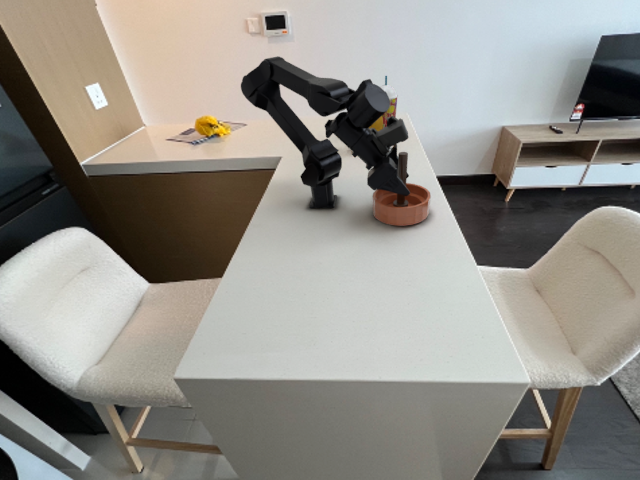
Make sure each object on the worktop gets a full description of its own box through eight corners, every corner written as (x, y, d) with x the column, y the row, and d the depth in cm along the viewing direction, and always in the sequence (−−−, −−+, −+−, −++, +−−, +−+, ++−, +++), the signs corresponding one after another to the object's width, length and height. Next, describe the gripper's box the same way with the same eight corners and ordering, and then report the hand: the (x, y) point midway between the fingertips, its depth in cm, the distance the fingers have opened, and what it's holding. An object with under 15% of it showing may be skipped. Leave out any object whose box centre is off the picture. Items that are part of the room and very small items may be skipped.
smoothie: (370, 135, 131) (369, 76, 118) (388, 131, 133) (390, 72, 121) (381, 140, 125) (381, 79, 112) (400, 136, 127) (403, 75, 115)
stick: (399, 216, 80) (402, 157, 71) (389, 210, 82) (391, 153, 73) (411, 211, 81) (415, 153, 72) (401, 206, 83) (404, 149, 75)
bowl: (430, 228, 76) (432, 207, 73) (371, 227, 78) (371, 208, 75) (426, 200, 86) (428, 182, 83) (374, 201, 88) (374, 183, 85)
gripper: (384, 120, 60) (441, 178, 66) (386, 96, 75) (432, 145, 80) (343, 164, 66) (398, 214, 72) (352, 135, 81) (397, 178, 86)
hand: (408, 185), depth 77 cm, fingers open, 9 cm apart
